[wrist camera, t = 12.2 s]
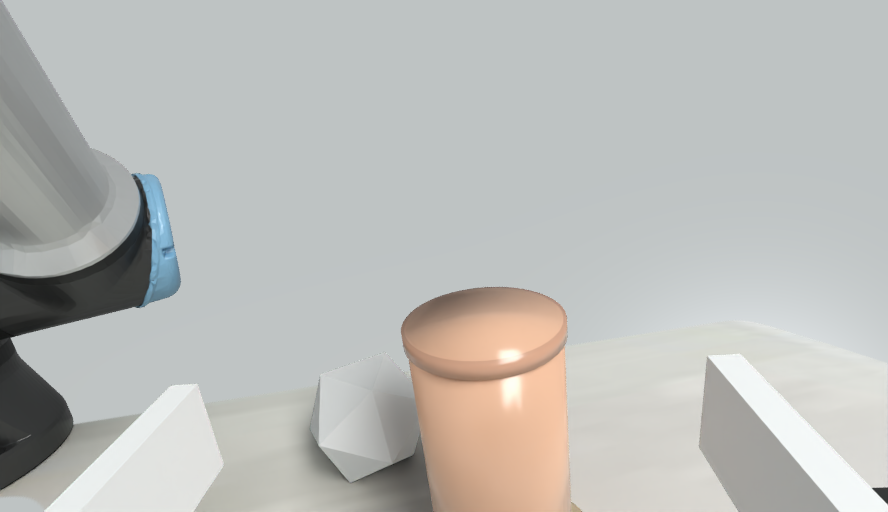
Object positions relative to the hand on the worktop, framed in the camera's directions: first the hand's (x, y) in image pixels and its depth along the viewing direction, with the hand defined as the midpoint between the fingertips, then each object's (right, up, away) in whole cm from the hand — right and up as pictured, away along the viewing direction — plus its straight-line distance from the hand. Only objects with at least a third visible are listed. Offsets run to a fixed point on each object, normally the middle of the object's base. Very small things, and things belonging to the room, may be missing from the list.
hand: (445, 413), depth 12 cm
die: (-5, -12, +24) cm, 28 cm away
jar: (+4, -13, +15) cm, 20 cm away
